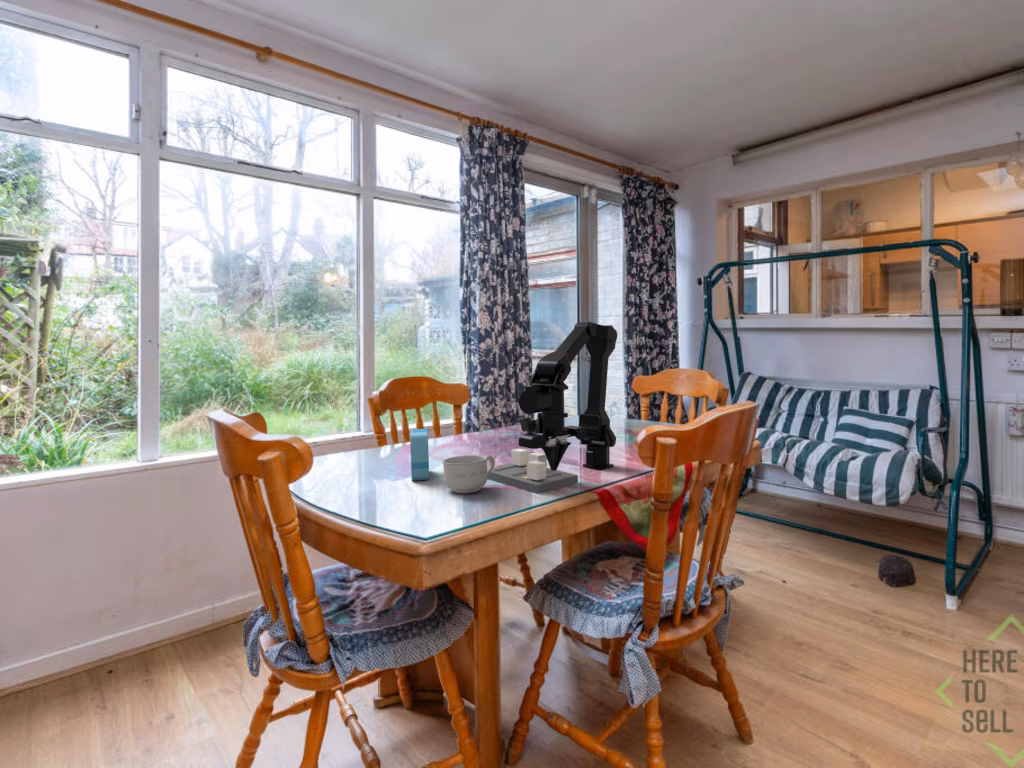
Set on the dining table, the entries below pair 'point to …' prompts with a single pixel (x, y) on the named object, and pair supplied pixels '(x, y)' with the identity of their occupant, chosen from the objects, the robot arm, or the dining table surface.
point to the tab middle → (538, 457)
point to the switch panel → (519, 479)
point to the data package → (419, 454)
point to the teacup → (467, 472)
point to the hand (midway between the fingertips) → (553, 470)
